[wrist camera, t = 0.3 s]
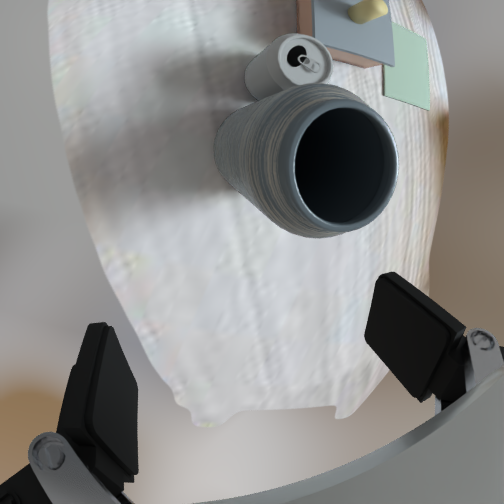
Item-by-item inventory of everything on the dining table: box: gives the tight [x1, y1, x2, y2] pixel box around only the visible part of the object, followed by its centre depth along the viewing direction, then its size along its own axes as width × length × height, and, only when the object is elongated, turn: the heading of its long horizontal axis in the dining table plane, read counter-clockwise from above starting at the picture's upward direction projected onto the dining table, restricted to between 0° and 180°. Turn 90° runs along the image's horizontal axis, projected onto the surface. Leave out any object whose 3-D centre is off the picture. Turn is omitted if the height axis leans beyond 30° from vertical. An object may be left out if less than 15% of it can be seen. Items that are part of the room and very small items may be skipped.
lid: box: [311, 0, 395, 67], centre depth 23 cm, size 13×13×6 cm
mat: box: [383, 21, 430, 111], centre depth 35 cm, size 16×12×1 cm
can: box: [244, 33, 333, 100], centre depth 28 cm, size 8×8×12 cm
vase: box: [214, 83, 399, 238], centre depth 26 cm, size 12×12×23 cm
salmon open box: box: [296, 0, 383, 68], centre depth 28 cm, size 12×12×6 cm
